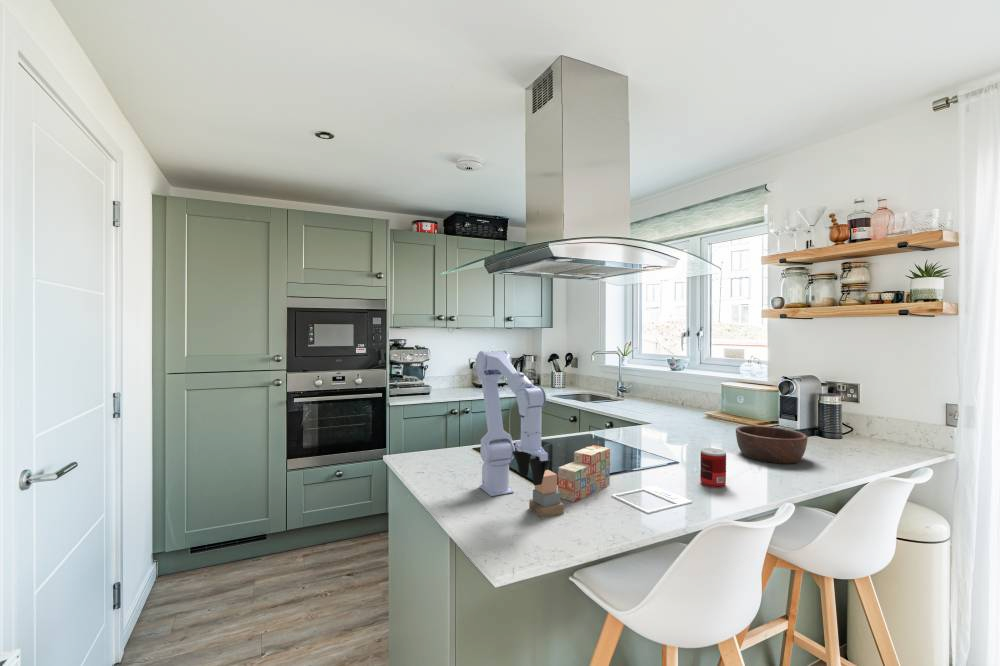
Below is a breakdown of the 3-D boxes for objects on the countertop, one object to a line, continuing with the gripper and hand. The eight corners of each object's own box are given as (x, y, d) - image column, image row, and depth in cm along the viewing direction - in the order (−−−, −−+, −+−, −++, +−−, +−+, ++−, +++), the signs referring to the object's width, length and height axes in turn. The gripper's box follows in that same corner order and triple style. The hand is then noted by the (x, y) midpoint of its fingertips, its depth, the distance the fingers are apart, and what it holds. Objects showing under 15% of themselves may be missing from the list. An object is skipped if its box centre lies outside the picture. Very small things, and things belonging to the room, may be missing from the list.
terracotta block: (534, 489, 130) (534, 471, 130) (548, 487, 132) (548, 469, 132) (543, 494, 126) (543, 476, 126) (556, 492, 128) (556, 474, 128)
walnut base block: (529, 509, 131) (529, 499, 131) (550, 506, 134) (550, 495, 134) (541, 519, 124) (542, 508, 124) (563, 514, 127) (563, 504, 127)
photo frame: (692, 500, 136) (647, 511, 127) (692, 504, 136) (647, 515, 127) (654, 485, 149) (611, 494, 140) (654, 488, 149) (611, 498, 140)
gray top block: (532, 500, 130) (532, 489, 130) (548, 496, 133) (548, 486, 132) (543, 507, 125) (544, 496, 125) (560, 503, 128) (560, 492, 128)
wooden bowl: (730, 446, 201) (731, 423, 201) (796, 452, 194) (796, 427, 193) (741, 462, 178) (741, 436, 177) (816, 469, 170) (817, 441, 170)
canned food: (727, 482, 154) (727, 450, 154) (723, 489, 147) (724, 455, 147) (702, 478, 158) (703, 446, 158) (698, 485, 151) (698, 451, 151)
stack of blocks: (574, 503, 135) (575, 461, 135) (557, 497, 139) (557, 457, 139) (610, 484, 151) (610, 447, 151) (593, 480, 155) (593, 444, 155)
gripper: (506, 427, 131) (505, 474, 131) (531, 438, 118) (531, 490, 118) (527, 425, 134) (527, 471, 135) (554, 435, 121) (554, 486, 122)
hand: (530, 480), depth 127 cm, fingers open, 7 cm apart
